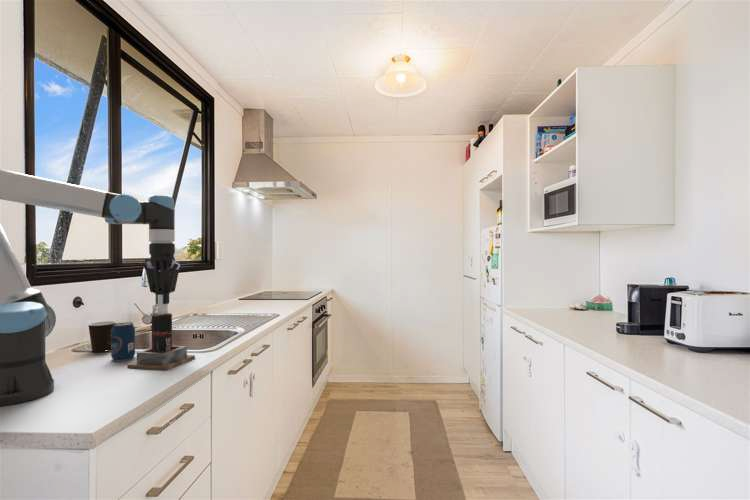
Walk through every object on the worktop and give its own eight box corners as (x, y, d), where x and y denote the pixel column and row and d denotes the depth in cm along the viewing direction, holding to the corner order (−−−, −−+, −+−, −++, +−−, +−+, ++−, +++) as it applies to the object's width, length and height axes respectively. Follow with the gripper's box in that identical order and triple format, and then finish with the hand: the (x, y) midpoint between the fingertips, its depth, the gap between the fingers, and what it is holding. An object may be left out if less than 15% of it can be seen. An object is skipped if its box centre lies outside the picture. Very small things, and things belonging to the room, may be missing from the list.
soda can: (106, 360, 135) (106, 325, 135) (124, 355, 142) (124, 321, 142) (121, 362, 133) (121, 326, 133) (139, 356, 140) (139, 322, 139)
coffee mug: (102, 353, 144) (102, 326, 144) (82, 352, 146) (82, 325, 146) (128, 345, 155) (128, 320, 155) (109, 344, 157) (109, 319, 157)
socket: (166, 370, 124) (166, 356, 124) (127, 367, 127) (127, 353, 127) (194, 358, 138) (194, 345, 138) (159, 356, 140) (159, 343, 140)
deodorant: (165, 362, 129) (165, 316, 129) (147, 362, 129) (147, 316, 129) (175, 357, 135) (175, 313, 135) (158, 357, 135) (158, 313, 135)
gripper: (187, 242, 134) (187, 312, 134) (153, 243, 137) (153, 311, 137) (171, 242, 127) (172, 316, 127) (136, 242, 129) (136, 315, 130)
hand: (162, 313), depth 132 cm, fingers closed
